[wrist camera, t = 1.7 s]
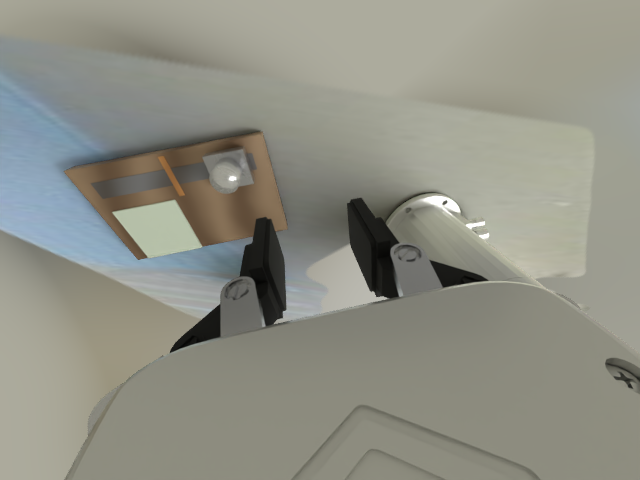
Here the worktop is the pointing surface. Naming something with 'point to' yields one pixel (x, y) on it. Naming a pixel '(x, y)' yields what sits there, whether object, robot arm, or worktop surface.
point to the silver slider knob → (229, 169)
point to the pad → (159, 228)
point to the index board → (185, 190)
